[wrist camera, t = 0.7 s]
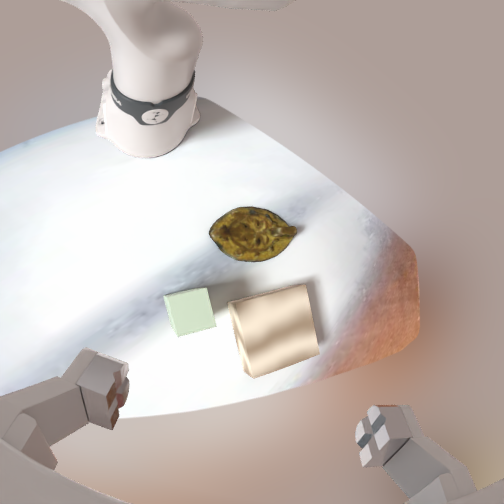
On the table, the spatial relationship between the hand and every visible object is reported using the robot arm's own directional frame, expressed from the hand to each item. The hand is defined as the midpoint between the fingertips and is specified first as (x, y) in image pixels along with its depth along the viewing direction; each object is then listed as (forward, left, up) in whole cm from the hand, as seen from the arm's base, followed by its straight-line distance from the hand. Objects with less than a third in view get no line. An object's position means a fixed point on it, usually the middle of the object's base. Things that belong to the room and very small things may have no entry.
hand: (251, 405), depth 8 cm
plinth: (+7, +16, -38) cm, 42 cm away
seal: (-9, +17, -38) cm, 43 cm away
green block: (0, +3, -38) cm, 38 cm away
